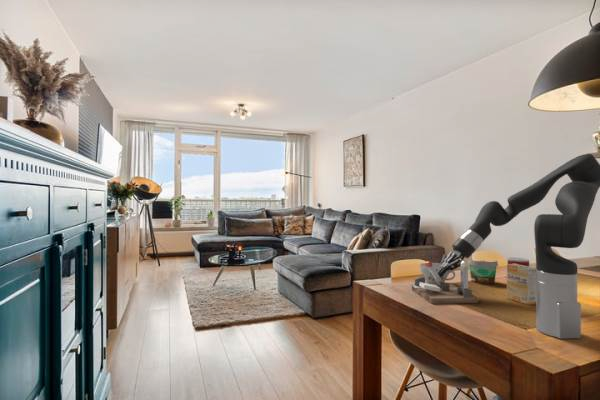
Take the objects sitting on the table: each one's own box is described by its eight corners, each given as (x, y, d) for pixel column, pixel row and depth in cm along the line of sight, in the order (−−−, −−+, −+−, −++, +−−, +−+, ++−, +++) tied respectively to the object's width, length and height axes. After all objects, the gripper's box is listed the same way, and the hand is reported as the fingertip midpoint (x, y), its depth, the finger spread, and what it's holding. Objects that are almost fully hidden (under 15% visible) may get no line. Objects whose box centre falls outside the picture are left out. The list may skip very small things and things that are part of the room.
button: (426, 286, 135) (426, 278, 135) (417, 286, 135) (417, 278, 135) (422, 283, 139) (422, 276, 139) (413, 283, 139) (413, 276, 139)
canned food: (532, 286, 143) (532, 260, 142) (511, 285, 144) (511, 260, 144) (524, 282, 150) (524, 257, 150) (504, 281, 152) (504, 257, 152)
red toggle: (448, 287, 131) (431, 260, 131) (442, 290, 131) (425, 264, 131) (444, 285, 134) (428, 259, 134) (439, 288, 134) (422, 262, 134)
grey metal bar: (470, 296, 122) (469, 261, 122) (463, 296, 122) (462, 262, 122) (465, 293, 125) (465, 260, 125) (458, 293, 125) (458, 260, 125)
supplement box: (506, 298, 125) (505, 264, 125) (515, 297, 127) (514, 263, 127) (527, 305, 118) (527, 268, 118) (537, 303, 119) (536, 267, 119)
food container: (471, 284, 147) (471, 261, 147) (467, 280, 153) (467, 259, 153) (502, 285, 144) (502, 262, 144) (497, 282, 150) (497, 260, 150)
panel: (477, 302, 121) (477, 290, 121) (430, 303, 120) (430, 291, 120) (451, 288, 140) (450, 277, 140) (410, 289, 140) (410, 278, 140)
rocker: (440, 291, 126) (440, 288, 126) (423, 288, 126) (424, 284, 126) (434, 288, 131) (435, 285, 131) (419, 285, 130) (419, 282, 130)
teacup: (415, 283, 149) (414, 265, 149) (426, 278, 158) (425, 261, 158) (450, 289, 139) (449, 270, 139) (459, 283, 148) (459, 265, 148)
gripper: (484, 252, 127) (453, 286, 126) (465, 247, 140) (437, 277, 139) (470, 239, 126) (438, 272, 126) (452, 235, 140) (424, 265, 139)
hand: (438, 275), depth 133 cm, fingers closed
